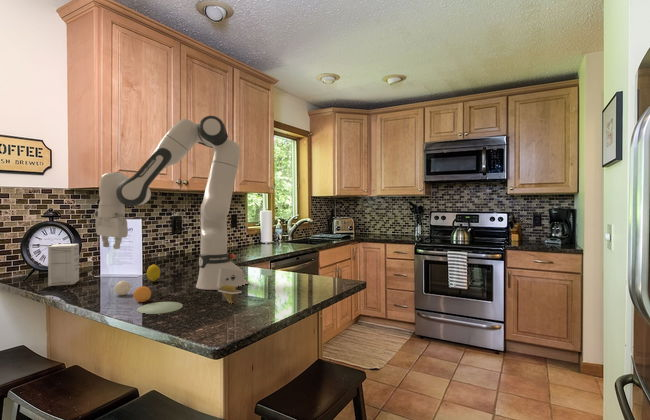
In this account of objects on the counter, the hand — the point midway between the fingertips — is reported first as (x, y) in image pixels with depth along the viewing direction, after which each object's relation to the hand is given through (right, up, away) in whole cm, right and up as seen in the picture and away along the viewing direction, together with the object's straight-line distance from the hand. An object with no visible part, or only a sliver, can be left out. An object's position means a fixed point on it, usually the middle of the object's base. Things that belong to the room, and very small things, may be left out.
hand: (111, 247), depth 140 cm
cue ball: (+8, -15, -6) cm, 18 cm away
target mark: (+29, -18, -21) cm, 41 cm away
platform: (+50, -19, -14) cm, 55 cm away
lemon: (+7, -18, +19) cm, 27 cm away
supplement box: (-29, -17, +14) cm, 36 cm away
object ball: (+20, -15, -14) cm, 29 cm away
